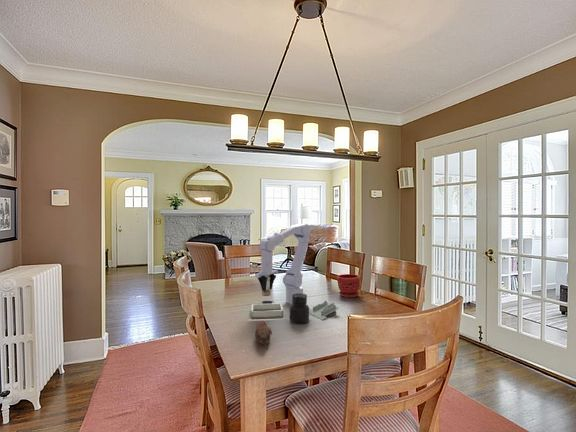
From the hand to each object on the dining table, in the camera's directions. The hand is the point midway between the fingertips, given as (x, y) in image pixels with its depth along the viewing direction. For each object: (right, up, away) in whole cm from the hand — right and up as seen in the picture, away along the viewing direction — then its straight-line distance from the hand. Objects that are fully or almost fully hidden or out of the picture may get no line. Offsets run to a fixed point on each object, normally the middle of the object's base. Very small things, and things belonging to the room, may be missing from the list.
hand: (266, 289), depth 162 cm
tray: (+1, -11, -6) cm, 12 cm away
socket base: (0, -10, +6) cm, 12 cm away
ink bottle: (+16, -11, -16) cm, 25 cm away
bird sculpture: (+1, -11, -36) cm, 38 cm away
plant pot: (+47, -10, +28) cm, 55 cm away
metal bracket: (+28, -11, -5) cm, 31 cm away
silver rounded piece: (0, -3, 0) cm, 3 cm away
